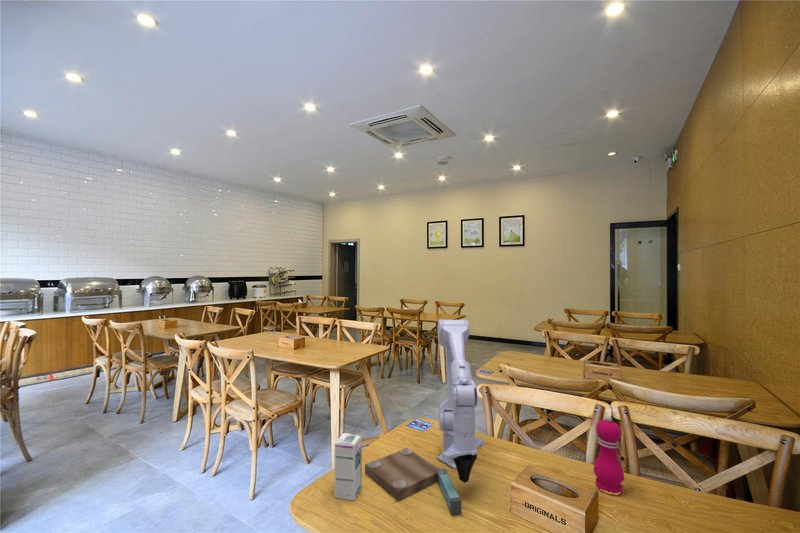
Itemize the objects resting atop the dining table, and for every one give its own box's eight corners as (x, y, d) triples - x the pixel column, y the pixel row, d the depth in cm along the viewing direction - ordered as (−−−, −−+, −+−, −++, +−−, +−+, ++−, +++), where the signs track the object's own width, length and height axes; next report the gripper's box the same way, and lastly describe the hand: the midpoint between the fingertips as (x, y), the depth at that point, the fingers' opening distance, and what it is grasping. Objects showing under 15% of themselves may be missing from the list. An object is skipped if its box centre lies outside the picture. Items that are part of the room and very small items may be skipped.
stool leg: (436, 480, 98) (437, 468, 98) (445, 479, 98) (445, 468, 98) (451, 514, 84) (451, 501, 84) (461, 513, 84) (461, 500, 84)
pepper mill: (626, 488, 95) (626, 415, 96) (621, 500, 90) (620, 423, 90) (597, 477, 100) (597, 408, 101) (590, 488, 95) (590, 415, 95)
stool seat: (406, 455, 111) (406, 447, 111) (442, 479, 99) (442, 469, 99) (364, 473, 101) (364, 463, 101) (398, 501, 89) (398, 490, 89)
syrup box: (354, 501, 89) (355, 444, 89) (333, 498, 90) (334, 441, 90) (361, 487, 94) (362, 434, 95) (341, 485, 95) (342, 432, 96)
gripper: (456, 442, 86) (456, 498, 85) (492, 427, 95) (492, 477, 94) (436, 432, 91) (436, 484, 91) (472, 419, 100) (472, 466, 100)
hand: (463, 480), depth 93 cm, fingers closed
